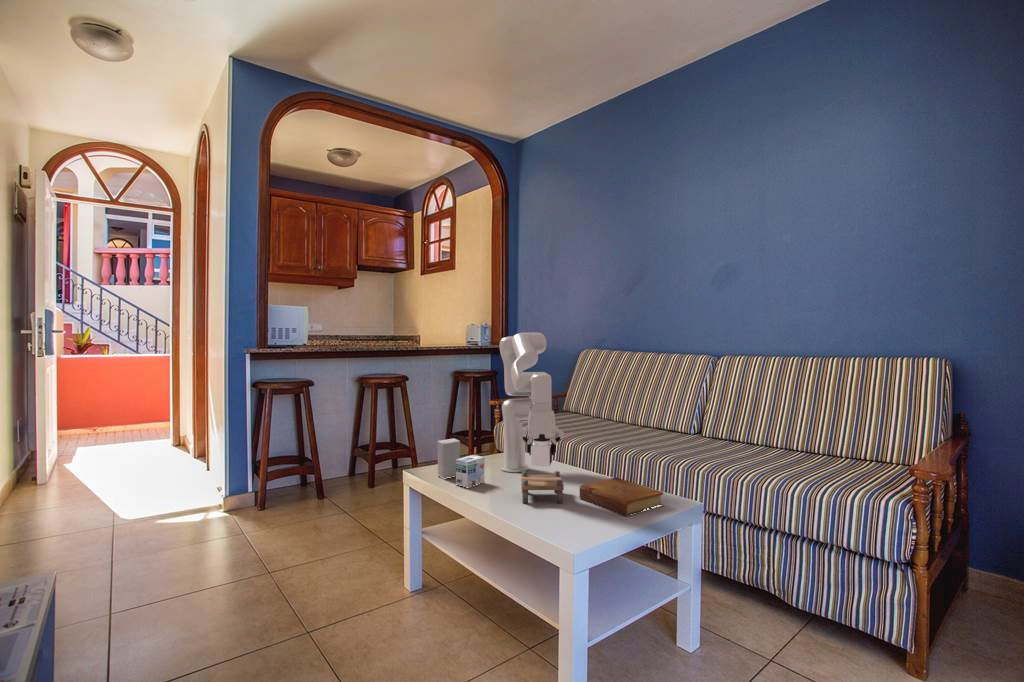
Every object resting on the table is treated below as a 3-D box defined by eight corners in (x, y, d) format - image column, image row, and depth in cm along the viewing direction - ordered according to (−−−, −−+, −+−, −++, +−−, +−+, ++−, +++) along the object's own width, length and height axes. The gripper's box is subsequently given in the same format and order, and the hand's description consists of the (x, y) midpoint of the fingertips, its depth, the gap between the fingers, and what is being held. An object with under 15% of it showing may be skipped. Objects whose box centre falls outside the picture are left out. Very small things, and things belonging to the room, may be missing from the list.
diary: (579, 501, 194) (579, 485, 194) (616, 492, 204) (616, 477, 204) (625, 518, 175) (625, 501, 175) (663, 507, 185) (663, 491, 185)
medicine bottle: (550, 466, 191) (550, 433, 191) (530, 465, 193) (530, 432, 192) (552, 461, 198) (552, 429, 198) (533, 461, 200) (533, 429, 199)
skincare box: (454, 473, 230) (454, 437, 230) (461, 477, 224) (461, 440, 224) (436, 476, 226) (436, 439, 225) (443, 480, 220) (443, 442, 219)
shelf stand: (521, 491, 203) (521, 471, 203) (560, 491, 203) (560, 470, 203) (521, 504, 188) (521, 481, 188) (563, 504, 188) (563, 481, 188)
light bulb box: (467, 488, 207) (467, 461, 207) (455, 486, 212) (455, 459, 211) (485, 482, 216) (485, 456, 216) (472, 480, 220) (472, 454, 220)
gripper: (518, 408, 192) (518, 456, 192) (565, 408, 192) (566, 456, 192) (517, 406, 199) (518, 452, 199) (563, 405, 199) (564, 452, 199)
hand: (541, 454), depth 195 cm, fingers closed on medicine bottle, 7 cm apart
